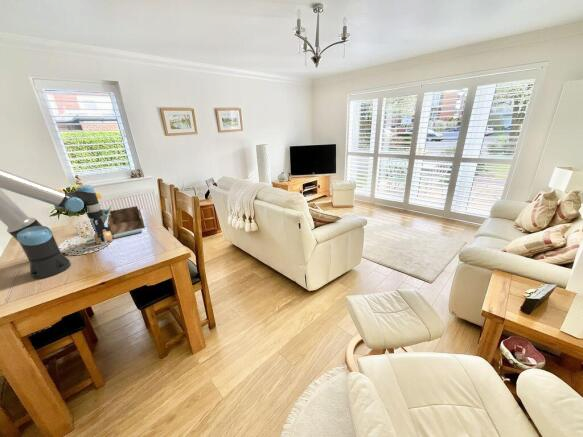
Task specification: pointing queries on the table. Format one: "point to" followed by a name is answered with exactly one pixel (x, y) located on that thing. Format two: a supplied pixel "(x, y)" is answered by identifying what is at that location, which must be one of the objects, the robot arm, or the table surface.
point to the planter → (104, 217)
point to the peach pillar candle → (107, 236)
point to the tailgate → (127, 233)
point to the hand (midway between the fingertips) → (105, 242)
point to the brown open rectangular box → (125, 220)
